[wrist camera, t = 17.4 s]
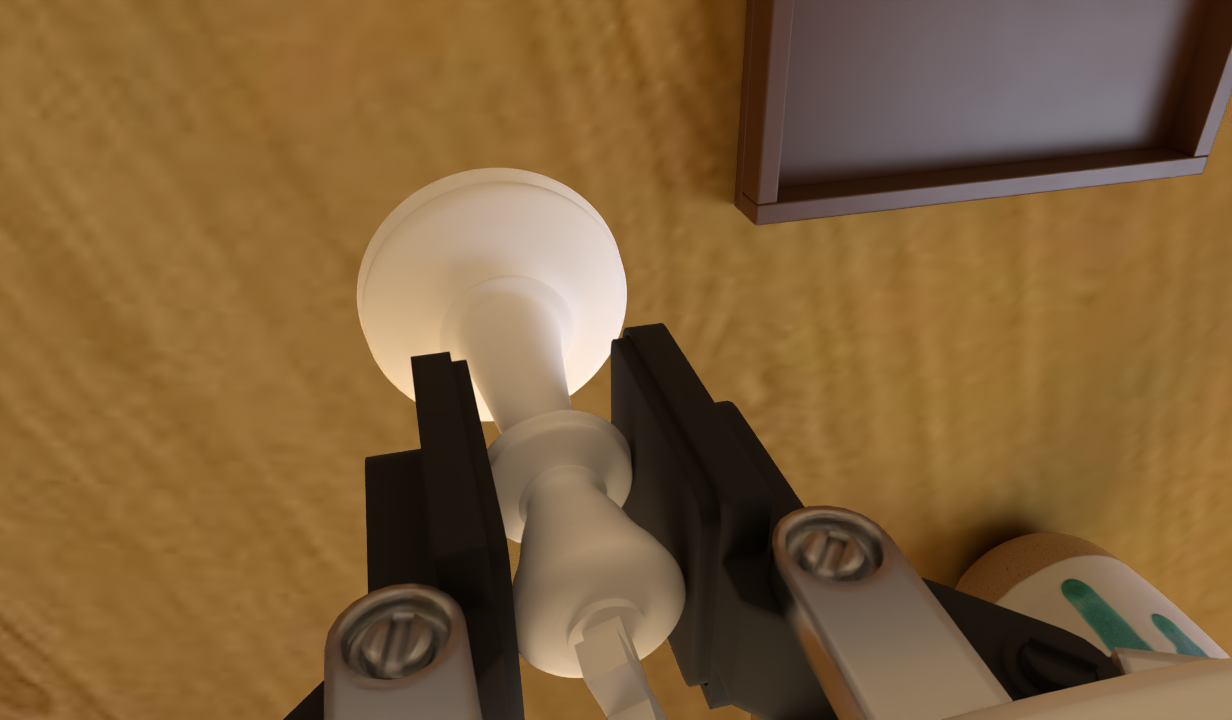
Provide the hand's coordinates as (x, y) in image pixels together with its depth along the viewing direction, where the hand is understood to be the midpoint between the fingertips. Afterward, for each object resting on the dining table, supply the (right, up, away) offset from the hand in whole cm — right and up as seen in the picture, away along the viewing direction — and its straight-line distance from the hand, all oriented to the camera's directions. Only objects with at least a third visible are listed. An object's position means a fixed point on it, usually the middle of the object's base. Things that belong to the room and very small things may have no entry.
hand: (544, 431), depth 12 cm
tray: (+15, +14, +19) cm, 28 cm away
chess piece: (-1, +2, +4) cm, 5 cm away
